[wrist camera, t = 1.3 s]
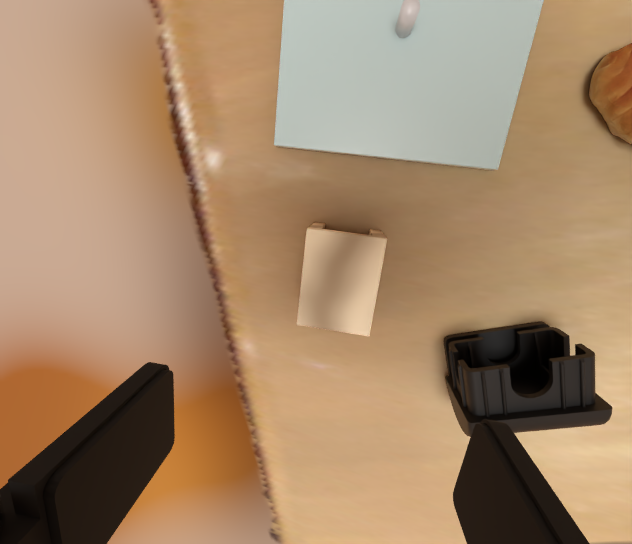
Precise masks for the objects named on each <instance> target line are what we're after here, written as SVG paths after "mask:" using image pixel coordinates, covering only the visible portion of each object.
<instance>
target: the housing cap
mask: <svg viewBox="0 0 632 544" xmlns="http://www.w3.org/2000/svg"><path fill="white" fill-rule="evenodd" d="M325 224H326V223H318V222H314V223H313V224H312V225H311V226H309V227H308V228H307V232H306V242H305V251H304V261H303V270H302V279H301V289H300V298H299V308H298V317H297V325H300V326H307V327H313V328H319V329H325V330H332V331H338V332H344V333H351V334H357V335H363V336H370V330H371V325H372V319H373V314H374V308H375V303H376V298H377V292H378V287H379V281H380V276H381V270H382V265H383V259H384V254H385V249H386V243H387V238H386V237H385V236H384V234H383V233H382V232H381V231H380V230H372V229H370V230H369V235H366V234H358V233H350V232H343V231H335V230H327V229H325Z"/></svg>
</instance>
